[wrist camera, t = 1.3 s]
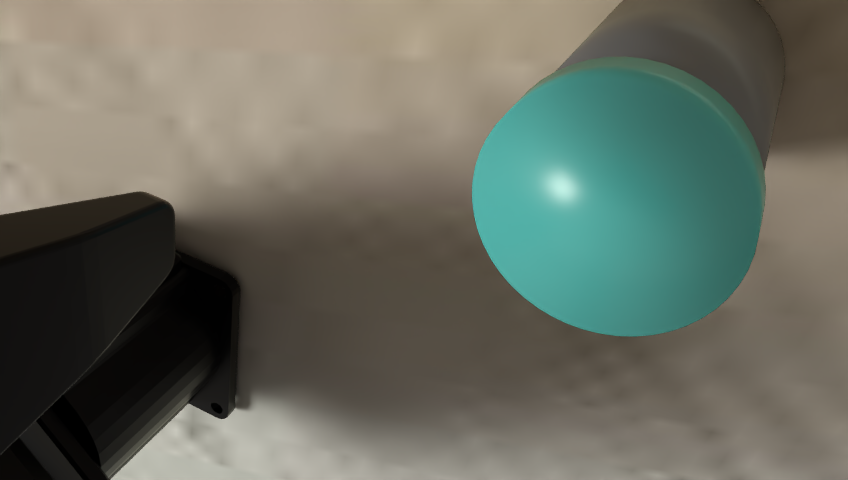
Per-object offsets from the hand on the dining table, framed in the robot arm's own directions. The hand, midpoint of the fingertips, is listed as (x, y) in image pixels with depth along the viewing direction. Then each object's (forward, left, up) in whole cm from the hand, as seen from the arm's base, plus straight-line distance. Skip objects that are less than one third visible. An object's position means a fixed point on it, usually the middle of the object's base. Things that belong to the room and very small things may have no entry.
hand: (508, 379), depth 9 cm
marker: (0, 0, -11) cm, 11 cm away
